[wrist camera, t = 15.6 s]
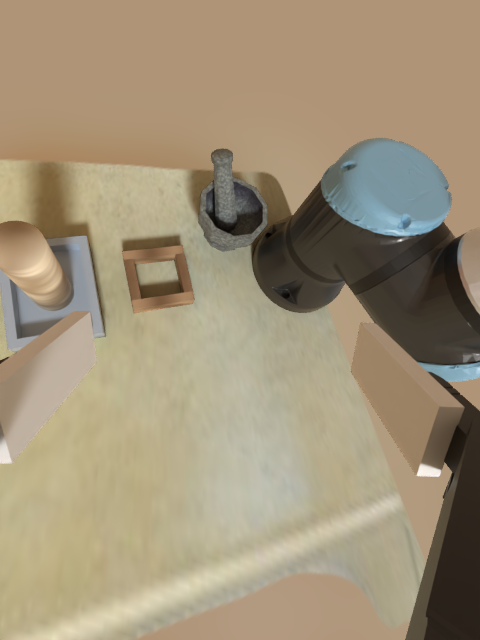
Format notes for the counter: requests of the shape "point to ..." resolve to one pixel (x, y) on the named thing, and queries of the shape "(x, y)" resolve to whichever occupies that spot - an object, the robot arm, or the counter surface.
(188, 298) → the socket block
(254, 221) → the mortar and pestle
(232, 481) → the counter surface
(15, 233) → the dowel
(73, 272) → the tray
